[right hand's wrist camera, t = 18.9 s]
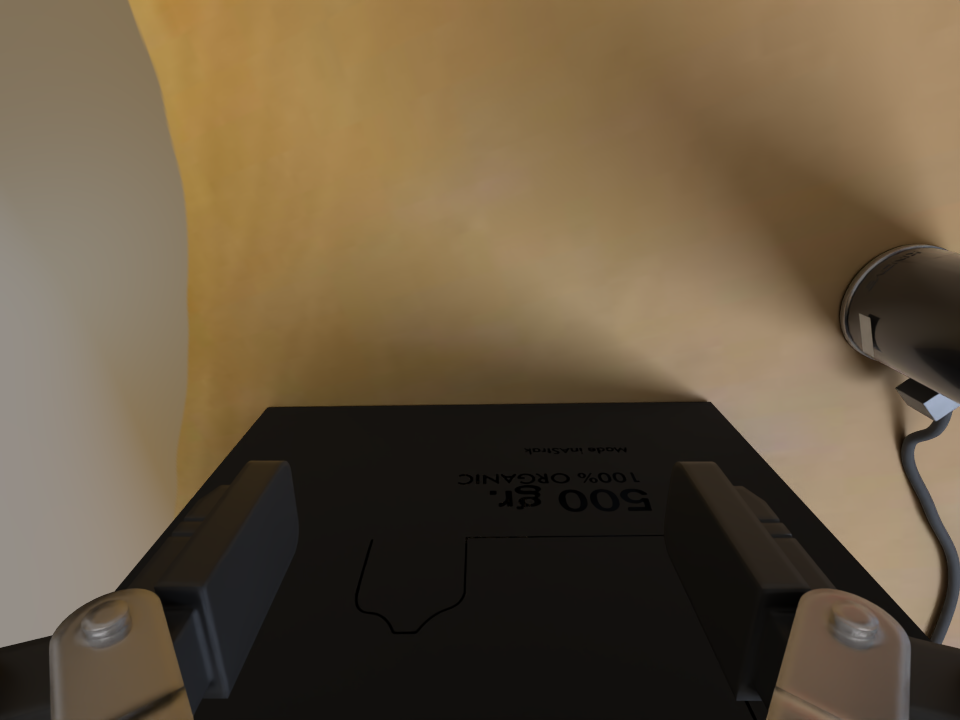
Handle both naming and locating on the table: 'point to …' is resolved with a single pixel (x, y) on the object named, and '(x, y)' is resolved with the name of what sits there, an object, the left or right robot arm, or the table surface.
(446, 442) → the cardboard box
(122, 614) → the right robot arm
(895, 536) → the table surface
